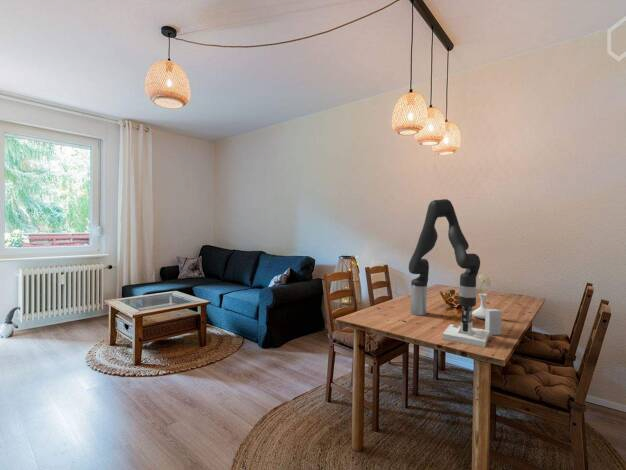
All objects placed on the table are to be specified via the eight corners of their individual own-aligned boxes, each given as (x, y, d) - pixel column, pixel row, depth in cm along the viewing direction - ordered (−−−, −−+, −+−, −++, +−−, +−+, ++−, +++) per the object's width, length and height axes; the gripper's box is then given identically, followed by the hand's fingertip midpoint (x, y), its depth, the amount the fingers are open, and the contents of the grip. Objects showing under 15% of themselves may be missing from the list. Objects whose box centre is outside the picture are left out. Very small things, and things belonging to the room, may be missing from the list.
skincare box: (496, 332, 169) (496, 308, 168) (501, 335, 164) (502, 311, 164) (484, 332, 168) (485, 308, 168) (489, 335, 164) (489, 311, 164)
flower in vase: (496, 321, 187) (498, 277, 186) (474, 319, 190) (476, 276, 189) (489, 315, 200) (490, 273, 199) (468, 313, 202) (470, 272, 201)
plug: (461, 334, 163) (462, 316, 163) (472, 335, 161) (472, 318, 160) (460, 336, 160) (460, 318, 159) (470, 338, 157) (471, 320, 157)
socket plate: (450, 329, 173) (450, 323, 172) (489, 335, 163) (489, 329, 163) (442, 339, 158) (442, 332, 157) (484, 347, 148) (485, 340, 148)
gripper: (461, 291, 167) (460, 324, 168) (456, 296, 155) (455, 331, 156) (478, 293, 163) (477, 326, 164) (474, 299, 151) (472, 334, 152)
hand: (466, 329), depth 160 cm, fingers open, 7 cm apart
